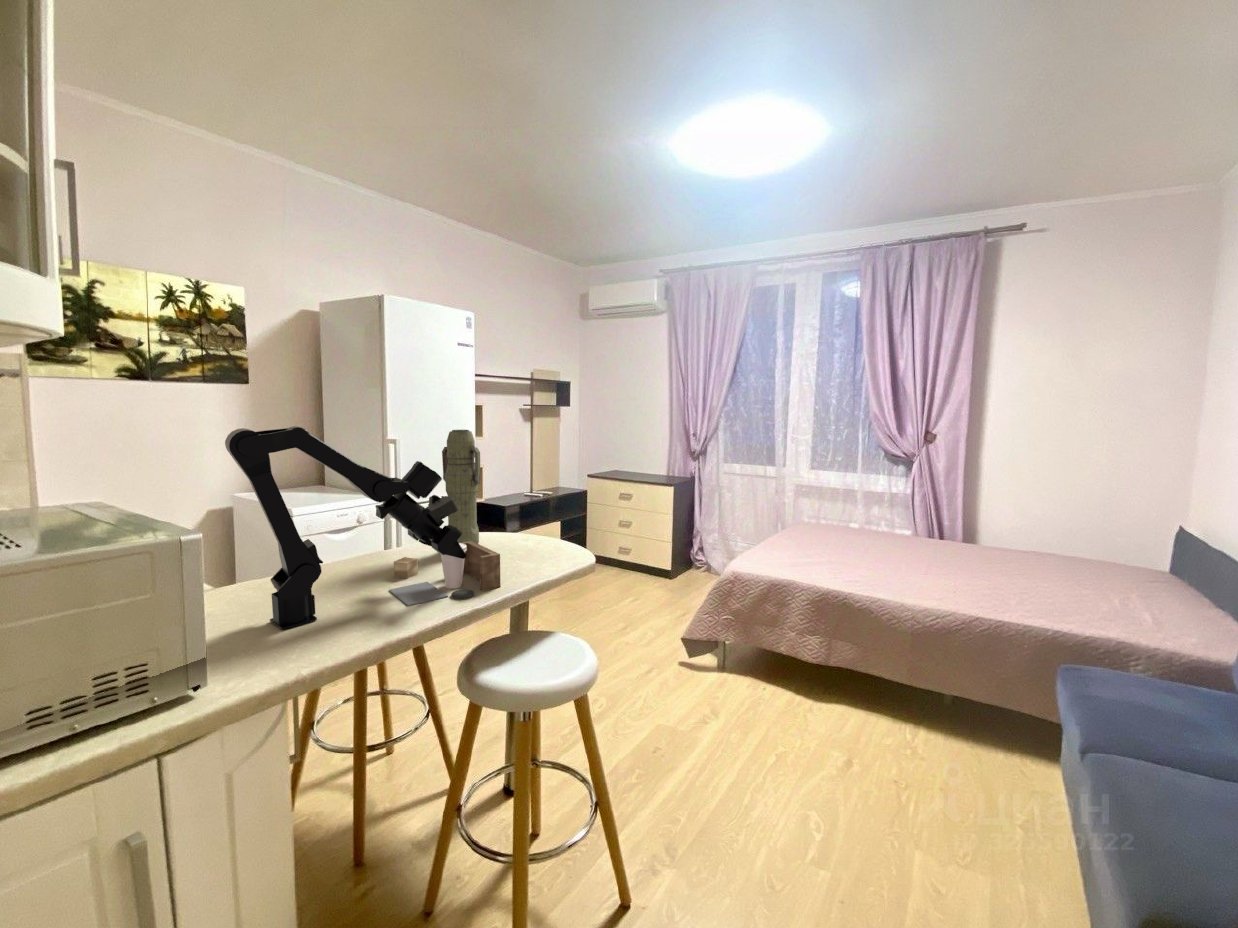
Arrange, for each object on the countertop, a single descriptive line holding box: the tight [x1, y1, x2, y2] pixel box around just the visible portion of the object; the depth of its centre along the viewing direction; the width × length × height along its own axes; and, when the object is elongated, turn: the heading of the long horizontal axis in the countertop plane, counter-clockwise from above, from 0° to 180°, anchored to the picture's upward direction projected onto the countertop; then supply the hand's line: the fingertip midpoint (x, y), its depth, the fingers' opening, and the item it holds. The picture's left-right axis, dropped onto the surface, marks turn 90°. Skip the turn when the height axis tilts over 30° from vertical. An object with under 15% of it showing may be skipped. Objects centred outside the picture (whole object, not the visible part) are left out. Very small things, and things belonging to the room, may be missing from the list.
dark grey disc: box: [450, 588, 475, 601], centre depth 128 cm, size 5×5×1 cm
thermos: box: [441, 429, 481, 544], centre depth 161 cm, size 9×12×35 cm
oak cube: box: [393, 556, 419, 580], centre depth 141 cm, size 4×4×4 cm
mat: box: [388, 581, 449, 607], centre depth 129 cm, size 9×12×1 cm
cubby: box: [462, 541, 501, 592], centre depth 138 cm, size 5×15×8 cm, turn 40°
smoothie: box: [440, 543, 467, 590], centre depth 133 cm, size 6×6×14 cm
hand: (458, 553), depth 134 cm, fingers open, 7 cm apart
